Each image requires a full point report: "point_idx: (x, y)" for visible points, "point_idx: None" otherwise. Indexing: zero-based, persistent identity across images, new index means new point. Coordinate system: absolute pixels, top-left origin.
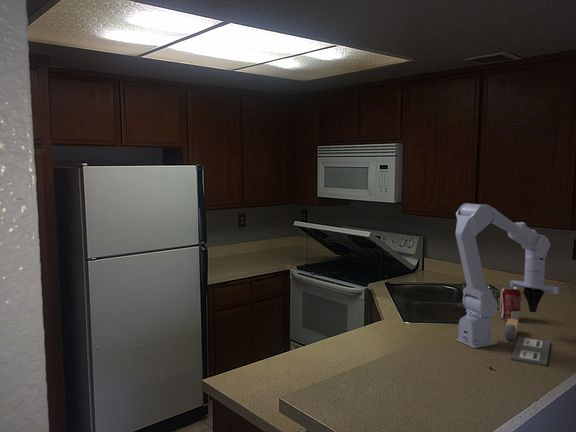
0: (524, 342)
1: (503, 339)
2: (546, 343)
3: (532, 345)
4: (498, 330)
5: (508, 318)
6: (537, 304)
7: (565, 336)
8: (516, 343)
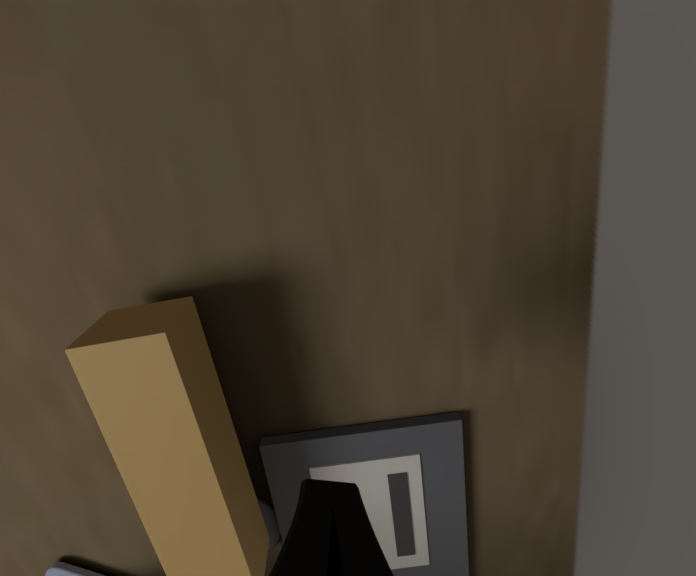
0: None
1: None
2: (445, 476)
3: None
4: None
5: (70, 351)
6: (379, 571)
7: (555, 172)
8: None
